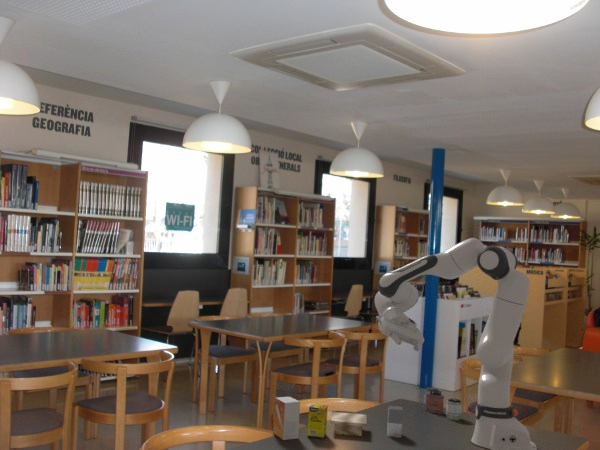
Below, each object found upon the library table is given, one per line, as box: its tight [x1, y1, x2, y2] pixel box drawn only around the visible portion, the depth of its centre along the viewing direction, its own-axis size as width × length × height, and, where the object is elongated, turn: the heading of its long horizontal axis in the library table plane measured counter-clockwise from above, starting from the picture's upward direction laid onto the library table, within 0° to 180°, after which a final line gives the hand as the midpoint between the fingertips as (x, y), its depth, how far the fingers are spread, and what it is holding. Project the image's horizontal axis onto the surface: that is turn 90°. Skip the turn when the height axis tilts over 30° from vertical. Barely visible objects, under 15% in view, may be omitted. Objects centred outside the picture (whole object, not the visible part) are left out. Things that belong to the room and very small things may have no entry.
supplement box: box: [307, 403, 329, 440], centre depth 232 cm, size 6×6×11 cm
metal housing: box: [386, 405, 404, 438], centre depth 239 cm, size 5×5×10 cm
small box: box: [272, 396, 301, 441], centre depth 230 cm, size 8×6×13 cm
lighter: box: [424, 387, 445, 415], centre depth 278 cm, size 8×3×10 cm, turn 58°
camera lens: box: [445, 398, 463, 421], centre depth 269 cm, size 6×6×8 cm
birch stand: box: [330, 411, 368, 437], centre depth 241 cm, size 13×13×5 cm
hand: (408, 346), depth 242 cm, fingers open, 8 cm apart
